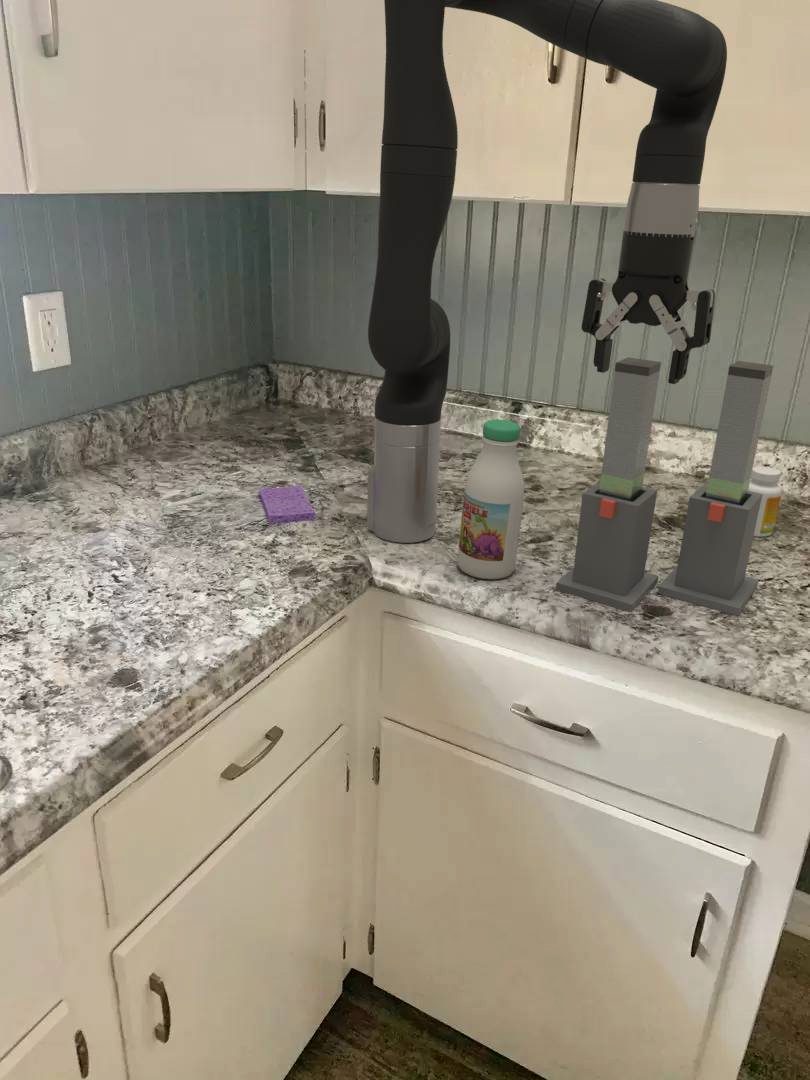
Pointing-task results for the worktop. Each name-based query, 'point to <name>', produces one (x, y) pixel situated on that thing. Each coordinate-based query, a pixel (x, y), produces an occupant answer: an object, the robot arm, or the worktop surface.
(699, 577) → the stand
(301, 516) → the sponges
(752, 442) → the column
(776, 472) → the supplement bottle
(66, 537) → the worktop surface
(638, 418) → the column
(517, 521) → the milk bottle
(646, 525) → the stand
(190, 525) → the worktop surface
